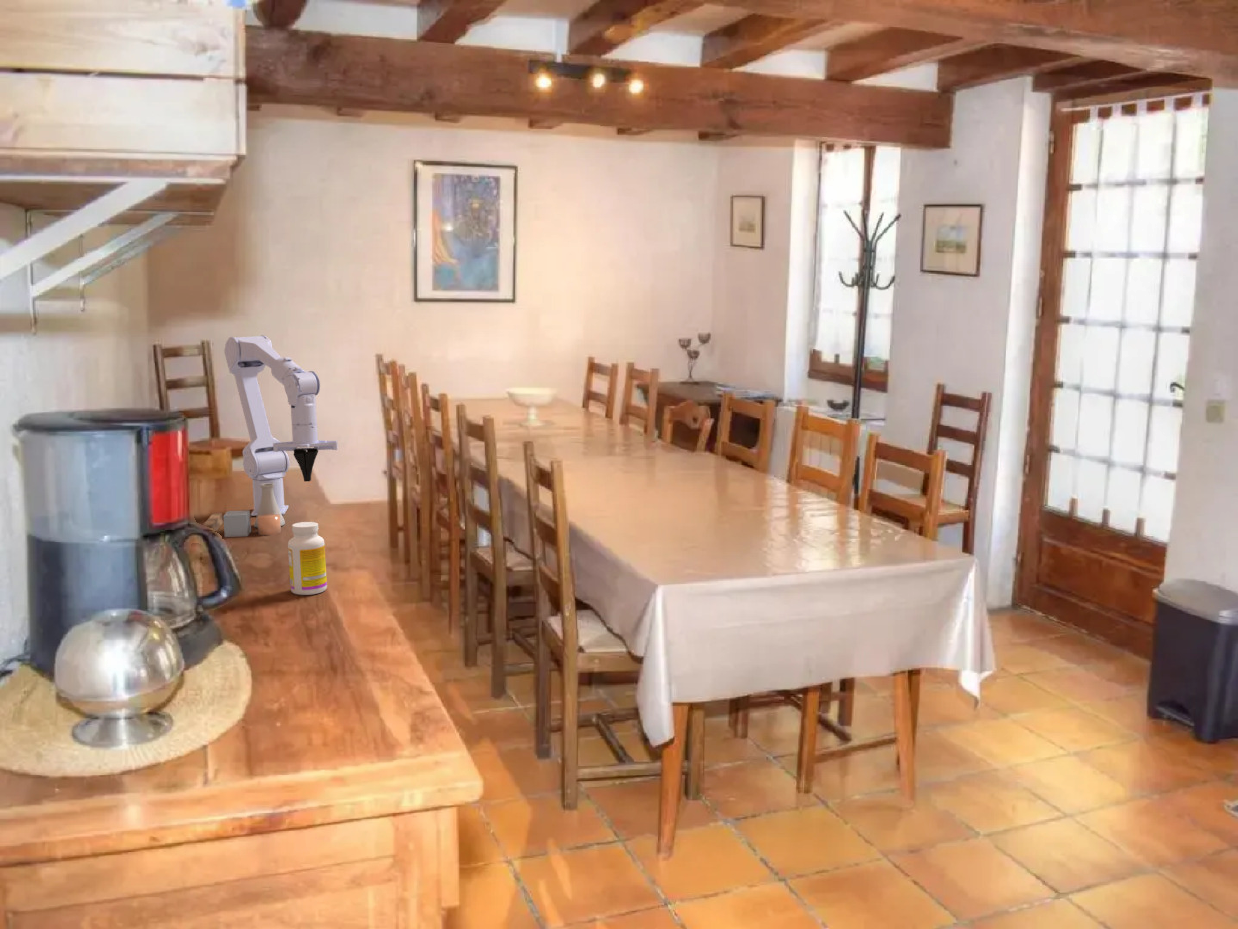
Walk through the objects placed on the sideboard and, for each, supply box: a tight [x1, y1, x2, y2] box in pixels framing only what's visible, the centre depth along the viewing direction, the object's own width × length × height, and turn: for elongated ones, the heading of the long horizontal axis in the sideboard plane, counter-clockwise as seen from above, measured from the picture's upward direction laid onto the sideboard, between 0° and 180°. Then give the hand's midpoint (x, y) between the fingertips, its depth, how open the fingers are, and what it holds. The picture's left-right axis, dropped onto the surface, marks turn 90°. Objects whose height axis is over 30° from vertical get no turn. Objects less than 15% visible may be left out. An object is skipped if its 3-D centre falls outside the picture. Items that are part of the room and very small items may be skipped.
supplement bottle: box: [287, 521, 328, 596], centre depth 211 cm, size 7×7×13 cm
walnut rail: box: [202, 512, 224, 532], centre depth 262 cm, size 14×2×2 cm, turn 9°
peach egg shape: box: [256, 514, 282, 536], centre depth 259 cm, size 5×5×4 cm
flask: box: [253, 483, 286, 528], centre depth 266 cm, size 7×7×10 cm
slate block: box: [222, 510, 252, 538], centre depth 258 cm, size 5×5×5 cm
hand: (307, 480), depth 266 cm, fingers closed
